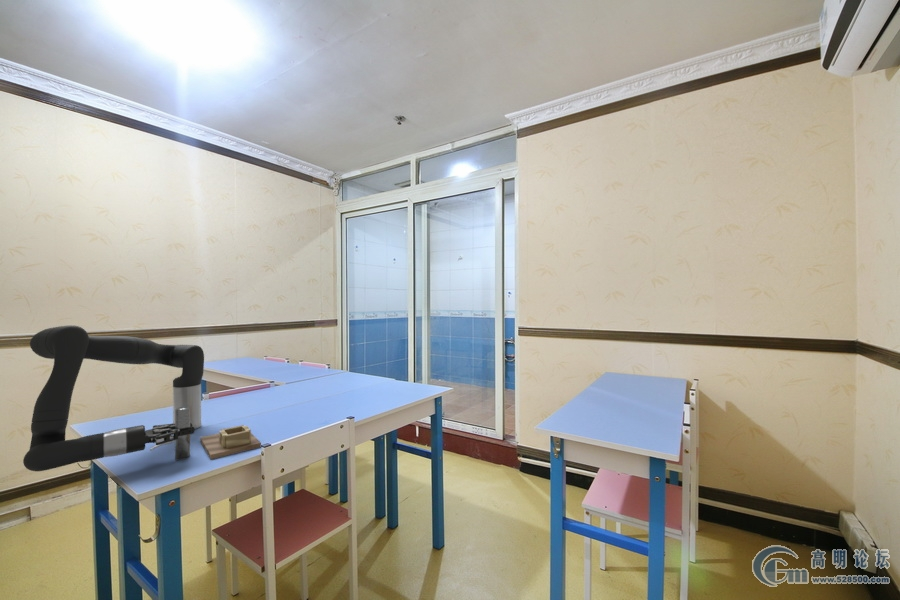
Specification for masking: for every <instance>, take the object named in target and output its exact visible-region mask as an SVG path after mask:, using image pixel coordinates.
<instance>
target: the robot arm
mask: <svg viewBox="0 0 900 600" xmlns="http://www.w3.org/2000/svg"><path fill="white" fill-rule="evenodd" d="M29 347H30V349H31V351H32V352H33V353H34V354H36V355H38V356H39V357H41V358H44V359H50V360H53V366H52V367H53V368H52V370H51V372H50V376H49V377H48V380H47V382H46V383H45V384H44V386H43V388H42V390H41V391H40V393H39V395H38V396H37V398H36V401H35V403H34V407H33V411H32V418H31V422H30V423H31V424H30V432H31V441H30V445H29V450H28V451H27V452H26V453H25V455H24V456H23V460H22V462H23V466H24V468H26V469H27V470H29V471H31V472H44V471H45V472H46V471H49V470H53V469H58V468H62V467H64V466H69V465H72V464H76V463H81V462H89V461H92V460H93V461H95V460H98V459H103V458H110V457H116V456H117V457H118V456H122V455H126V454H131V453H136V452H141V451H144V450H145V449H146V444H155V445H160V444H163V443H167V442H170V441H173V440H177V439H178V437H180V436H183V435H188V434H190V435H192V434H193V435H194V433H195V430H197V429H199V428H200V427H201V426H202V379H203V376H204V370H205V369H204V368H205V366H204V365H205V353H204V350H203V348H202V347H201V346H200V345H196V344H162V343H161V344H160V343H158V342H155V341H153V340H150V339H147V338H142V337H141V338H140V337H135V336H129V335H128V336H127V335H89V334H88V331H86V330H85V329H84V327H82V326H79V325H72V324H71V325H59V326H54V327H49V328H45V329H42V330H41V331H38V332H36V333H35V334H34V335H33V336H32V337H31V339H30V341H29ZM85 359H86V360H94V361H100V362H108V363H114V364H115V363H116V364H124V365H125V364H127V365H148V364H149V365H151V364H158V365H162V366H163V365H164V366H168V367H173V368H178V369H182V370H181V371H182V373H181V375H180V376H177V377H175V378H174V379H172V423H165V424H157V425H156V424H155V425H153V426H152V428H150V429H147V430H146V428H145V427H146V426H145V425H144V424H141V425H135V426H134V425H133V426H130V427H124V428H118V429H113V430H110V431H109V430H108V431H105V432H100V433H95V434H89V435H86V436H82V437H79V438H74V439H67V440H66V430H67V426H68V422H69V416H70V415H69V414H70V410H71V402H72V398H73V397H72V396H73V392H74V389H75V385H76V381H77V379H78V376H79V373H80V370H81V366H82V364H83V361H84V360H85ZM180 407H190V427H186V428H181V429H175V409H176V408H180Z"/></svg>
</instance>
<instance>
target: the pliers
mask: <svg viewBox="0 0 900 600" xmlns="http://www.w3.org/2000/svg"><path fill="white" fill-rule="evenodd" d="M173 443H175V441H174V440H173V441H170V442H167V443H163V444H165V445H169V444H173ZM163 444H160V445H161V446H163ZM160 445H156V444H155V445H154V446H152V447H150V449H149V451H153V450H155V449H157V448H159V447H160ZM154 448H155V449H154ZM152 449H153V450H152Z"/></svg>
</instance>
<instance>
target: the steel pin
mask: <svg viewBox="0 0 900 600" xmlns="http://www.w3.org/2000/svg"><path fill="white" fill-rule="evenodd" d="M186 427H190V407H180V408H176V409H175V429H181V428H186ZM190 457H191V434H188V435H183V436H180V437H178V439H177V440H175V441H174V458H175V459H174V460H177V461H180V460H186V459H188V458H190Z"/></svg>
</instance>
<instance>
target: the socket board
mask: <svg viewBox="0 0 900 600" xmlns="http://www.w3.org/2000/svg"><path fill="white" fill-rule="evenodd" d="M199 438H200V440H199V442H200V443H202V444H201V445H202V447H203V449H204V448H205V449H204V450H206V451H205V452H206V454H207V456H208V455H209V456H208V458H209V459H210V460H214V459H218V458H222V457H226V456H230V454H231V455H233V454H234V453H235V454H239V453H242V451H243V452H247V451H250V450H254V449H259V448H261V447H262V442H261V441H260V440H259V439H258V438H257V437H256V436H255V435H254V434H253V432H252V430H251V428H250V427H249V426H248V425H244V424H241V425H237V426H236V425H235V426H232V427H227V428H222V429H220V430H219V431H218V433H214V434H209V435H205V436H201V437H199ZM260 446H261V447H260ZM213 458H214V459H213Z"/></svg>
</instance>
